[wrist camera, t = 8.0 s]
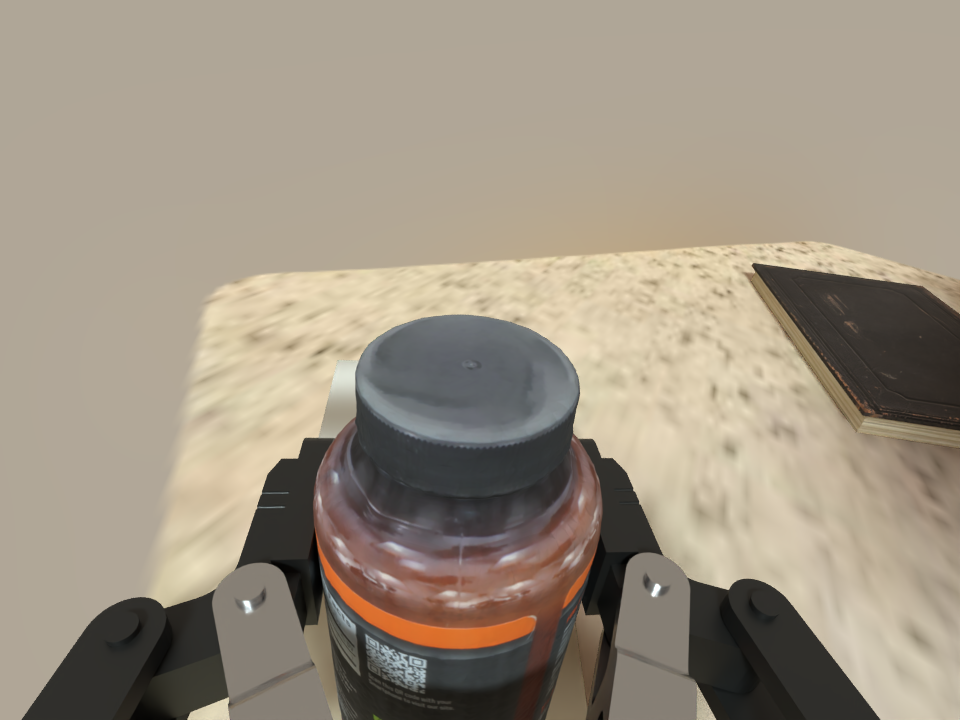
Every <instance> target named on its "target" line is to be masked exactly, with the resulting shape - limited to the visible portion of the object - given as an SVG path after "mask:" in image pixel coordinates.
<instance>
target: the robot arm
mask: <svg viewBox="0 0 960 720" xmlns="http://www.w3.org/2000/svg"><path fill="white" fill-rule="evenodd" d="M334 439H335V438H305V439H304V440H303V443H302V447H301V450H300V454H299V458H298V459H281V460H280V461H279V462H278V463H277V464H276V466H275V467H274V468H273V469H272V470H271V471H270V472H269V473H268V475H267V478H266V481H265V484H264V487H263V490H262V495H261V496H260V499H259V502H258V505H257V510H256V511H255V514H254V517H253V520H252V523H251V526H250V529H249V532H248V535H247V538H246V541H245V544H244V547H243V550H242V553H241V556H240V559H239V562H238V565H237V567H236V569H235V570H234V571H233V572H231V573H230V574H229V575H227V576H226V577H225V578H224V579H223V580H222V581H221V583H220V584H219V585H218V587H217V589H215V590H213V591H212V592H210V593H208V594H206V595H204V596H201V597H199V598H196V599H193V600H190V601H187V602H183V603H180V604H177V605H174V606H171V607H167V608H163V606H162V605H161V604H160V603H159V602H157V601H156V600H153V599H151V598H145V597H138V598H131V599H127V600H124V601H121V602H119V603H116V604H115V605H112V606H111V607H109V608H107V609H106V610H104V611H103V612H102V613H100V614H99V615H98V616H97V617H96V618H95V619H94V620H93V621H92V622H91V623H90V624H89V625H88V626H87V628H86V629H85V630H84V632H83V633H82V635H81V636H80V638H79V639H78V640H77V642H76V643H75V645H74V646H73V648H72V649H71V650H70V652H69V653H68V655H67V656H66V658H65V659H64V660H63V662H62V663H61V665H60V666H59V667H58V669H57V670H56V672H55V673H54V675H53V676H52V677H51V679H50V680H49V682H48V683H47V684H46V686H45V687H44V689H43V690H42V692H41V693H40V695H39V696H38V697H37V699H36V700H35V701H34V703H33V704H32V706H31V707H30V708H29V710H28V712H27V713H26V714H25V716H24V717H23V718H22V720H187V718H188V716H189V714H190V712H192V711H194V710H197V709H199V708H202V707H205V706H207V705H210V704H212V703H215V702H217V701H220V700H223V699H225V698H228V697H229V704H228V708H229V716H230V720H333V718H332V715H331V711H330V708H329V705H328V702H327V699H326V696H325V693H324V689H323V686H322V683H321V680H320V677H319V674H318V671H317V668H316V666H315V664H314V662H312V659H311V656H310V653H309V650H308V647H307V644H306V641H305V638H304V628H305V625H318V621H319V615H320V609H321V603H322V597H323V585H322V578H321V571H320V563H319V557H318V545H317V538H316V532H315V525H314V513H313V500H314V486H315V482H316V477H317V473H318V470H319V467H320V465H321V463H322V460H323V458H324V456H325V453H326V451H327V450H328V448H329V446H330V445H331V444H332V442H333V441H334ZM579 441H580V442H581V444H582V446H583V448H584V449H585V451H586V452H587V454H588V456H589V457H590V459H591V461H592V463H593V465H594V468H595V471H596V474H597V476H598V478H599V482H600V488H601V495H602V507H603V515H602V521H601V529H600V536H599V541H598V545H597V549H596V552H595V556H594V559H593V562H592V565H591V568H590V574H589V577H588V582H587V585H586V588H585V591H584V595H583V598H582V603H583V607H584V611H585V615H599V614H600V616H601V619H602V623H603V626H604V628H603V630H602V633H601V637H600V642H599V648H598V654H597V659H596V665H595V671H594V676H593V682H592V688H591V694H590V699H589V705H588V710H587V715H586V719H585V720H696V716H697V689H696V683H697V685H698V687H699V688H700V690H701V692H702V694H703V696H704V698H705V699H706V701H707V703H708V705H709V707H710V709H711V710H712V712H713V714H714V716H715V718H716V720H880V718H879V717H878V716H877V715H876V713H875V712H874V711H873V709H872V708H871V707H870V706H869V704H868V703H867V702H866V700H865V699H864V698H863V696H862V695H861V694H860V693H859V691H858V690H857V689H856V687H855V686H854V685H853V684H852V682H851V681H850V680H849V678H848V677H847V676H846V674H845V673H844V672H843V671H842V669H841V668H840V667H839V665H838V664H837V663H836V662H835V660H834V659H833V658H832V656H831V655H830V654H829V652H828V651H827V650H826V649H825V647H824V646H823V645H822V643H821V642H820V641H819V640H818V638H817V637H816V636H815V634H814V633H813V632H812V630H811V629H810V628H809V627H808V625H807V624H806V623H805V621H804V620H803V619H802V617H801V616H800V615H799V614H798V612H797V611H796V610H795V608H794V607H793V606H792V605H791V603H790V602H789V601H788V600H787V599H786V597H785V596H784V595H782V594H781V593H780V592H779V591H778V590H776V589H775V588H773V587H772V586H770V585H768V584H766V583H764V582H761V581H758V580H754V579H741V580H738V581H736V582H735V583H733V584H732V586H731V587H730V589H729V590H726V589H722V588H718V587H715V586H711V585H707V584H703V583H700V582H697V581H694V580H691V579H689V578H687V577H686V575H685V573H684V572H683V571H682V569H681V568H680V567H679V566H678V565H677V564H676V563H674V562H673V561H671V560H670V559H668V558H666V557H664V556H663V554H662V552H661V550H660V548H659V545H658V543H657V541H656V539H655V536H654V534H653V532H652V529H651V527H650V525H649V523H648V520H647V518H646V516H645V514H644V511H643V509H642V507H641V505H639V500H638V498H637V495H636V493H635V492H634V491H633V486H632V484H631V482H630V480H629V477H628V475H627V473H626V472H625V471H624V470H623V468H622V467H621V466H620V465H619V464H618V463H617V462H616V461H615V460H614V459H613V458H601V456H600V453H599V451H598V448H597V446H596V443H595V441H594V440H593V439H579ZM695 681H696V682H695Z"/></svg>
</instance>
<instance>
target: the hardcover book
mask: <svg viewBox="0 0 960 720" xmlns="http://www.w3.org/2000/svg"><path fill="white" fill-rule="evenodd" d="M752 267H753V268H754V270H755V274H754V276H753V279H752V281H751V282H752V283H753V285H754V286H755V288H756V289H757V291H758V292H759V293H760V295H761V296H762V298H763V299H764V301H765V302H766V304H767V305H768V306H769V308H770V309H771V311H772V312H773V314H774V315H775V316H776V318H777V319H778V321H779V322H780V324H781V325H782V326H783V328H784V329H785V331H786V332H787V334H788V335H789V337H790V338H791V339H792V341H793V342H794V344H795V345H796V347H797V348H798V349H799V351H800V352H801V354H802V355H803V357H804V358H805V360H806V361H807V362H808V364H809V365H810V367H811V368H812V370H813V371H814V372H815V374H816V375H817V377H818V378H819V380H820V381H821V382H822V384H823V385H824V387H825V388H826V390H827V391H828V393H829V394H830V395H831V397H832V398H833V400H834V401H835V403H836V404H837V405H838V407H839V408H840V410H841V411H842V413H843V414H844V415H845V417H846V418H847V420H848V421H849V423H850V424H851V426H852V427H853V428H854V430H855V431H856V432H858V433H864V434H871V435H877V436H883V437H890V438H896V439H902V440H909V441H915V442H921V443H928V444H934V445H941V446H947V447H953V448H960V314H959V313H957V312H956V311H955V310H953V309H952V308H951V307H949V306H948V305H947V304H945V303H944V302H943V301H941V300H940V299H939V298H937V297H936V296H935V295H933V294H932V293H931V292H929V291H928V290H927V289H925V288H924V287H923V286H916V285H909V284H901V283H894V282H887V281H880V280H872V279H865V278H858V277H850V276H843V275H836V274H829V273H821V272H814V271H807V270H799V269H792V268H785V267H778V266H770V265H763V264H756V263H753V264H752Z"/></svg>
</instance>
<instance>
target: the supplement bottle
mask: <svg viewBox="0 0 960 720" xmlns="http://www.w3.org/2000/svg"><path fill="white" fill-rule="evenodd" d="M355 396H356V403H357V404H356V409H357V411H356V417H355V418H353V419H352V420H351V421H350V422H349V423H348V424H347V425H346V426H345V427H344V428H343V429H342V431H341V432H340V433H338V434H337V436H336V438H335V439H334V441H333V442H332V444H331V445H330V446H329V448H328V450H327V451H326V453H325V456H324V458H323V460H322V463H321V465H320V467H319V470H318V473H317V477H316V482H315V486H314V500H313V513H314V525H315V532H316V538H317V545H318V557H319V563H320V571H321V578H322V585H323V591H324V599H325V607H326V614H327V622H328V628H329V636H330V642H331V650H332V658H333V665H334V674H335V681H336V687H337V694H338V701H339V707H340V711H341V717H342V720H545V719H546V716H547V712H548V709H549V706H550V702H551V699H552V695H553V693H554V690H555V687H556V683H557V679H558V676H559V673H560V669H561V666H562V663H563V659H564V656H565V653H566V651H567V647H568V643H569V640H570V637H571V634H572V630H573V627H574V623H575V621H576V617H577V614H578V610H579V607H580V604H581V601H582V598H583V595H584V591H585V588H586V585H587V582H588V577H589V574H590V568H591V565H592V562H593V559H594V556H595V552H596V549H597V545H598V541H599V536H600V529H601V521H602V515H603V507H602V495H601V488H600V482H599V478H598V476H597V474H596V471H595V468H594V465H593V463H592V461H591V459H590V457H589V456H588V454H587V452H586V451H585V449H584V448H583V446H582V444H581V442H580V441H579V439H578V438H577V437H576V436H575V435H574V434H573V423H574V419H575V413H576V408H577V405H578V401H579V396H580V386H579V379H578V375H577V373H576V370H575V368H574V367H573V364H572V363H571V362H570V360H569V358H568V357H567V356H566V355H565V354H564V353H563V352H562V350H561V349H560V348H558V347H557V346H556V345H554V344H553V343H551V342H550V341H549V340H548V339H546V338H545V337H543V336H541V335H540V334H538V333H536V332H534V331H532V330H531V329H529V328H526V327H523V326H520V325H517V324H514V323H512V322H508V321H504V320H499V319H494V318H489V317H483V316H473V315H444V316H434V317H427V318H421V319H418V320H414V321H411V322H408V323H405V324H402V325H399V326H396V327H394V328H392V329H390V330H388V331H387V332H385V333H384V334H382V335H380V336H379V337H377V338H376V339H375V340H374V341H372V342H371V343H370V344H369V345H368V347H367V348H366V349H365V350H364V352H363V353H362V355H361V357H360V360H359V362H358V365H357V367H356V371H355Z"/></svg>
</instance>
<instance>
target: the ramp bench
mask: <svg viewBox="0 0 960 720" xmlns="http://www.w3.org/2000/svg"><path fill="white" fill-rule="evenodd" d="M358 362H359V361H352V360H338V361H337V365H336V369H335V373H334V377H333V381H332V385H331V389H330V393H329V397H328V402H327V406H326V410H325V414H324V418H323V422H322V426H321V430H320V434H319V438H336V436H337V434H338V433H340V432H341V431H342V429H343V428H344V427H345V426H346V425H347V424H348V423H349V422H350V421H351V420H352V419H353V418H355V417H356V411H357V409H356V404H357V403H356V396H355V371H356V367H357V365H358ZM304 638H305V641H306V644H307V647H308V650H309V653H310V656H311V659H312V662H314V664H315V666H316V668H317V671H318V674H319V677H320V680H321V683H322V686H323V689H324V693H325V696H326V699H327V702H328V705H329V708H330V711H331V715H332V718H333V720H342V717H341V711H340V707H339V701H338V694H337V687H336V681H335V674H334V665H333V658H332V650H331V642H330V636H329V628H328V622H327V614H326V607H325V599H324V591H323V597H322V603H321V609H320V615H319V621H318V625H305V628H304ZM587 710H588V709H587V702H586V695H585V688H584V681H583V674H582V667H581V660H580V653H579V646H578V639H577V632H576V625H575V623H574V627H573V630H572V634H571V637H570V640H569V643H568V647H567V651H566V653H565V656H564V659H563V663H562V666H561V669H560V673H559V676H558V679H557V683H556V687H555V690H554V693H553V695H552V699H551V702H550V706H549V709H548V712H547V716H546V719H545V720H585V719H586V715H587Z"/></svg>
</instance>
